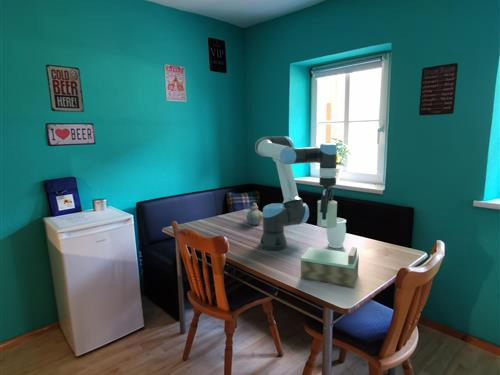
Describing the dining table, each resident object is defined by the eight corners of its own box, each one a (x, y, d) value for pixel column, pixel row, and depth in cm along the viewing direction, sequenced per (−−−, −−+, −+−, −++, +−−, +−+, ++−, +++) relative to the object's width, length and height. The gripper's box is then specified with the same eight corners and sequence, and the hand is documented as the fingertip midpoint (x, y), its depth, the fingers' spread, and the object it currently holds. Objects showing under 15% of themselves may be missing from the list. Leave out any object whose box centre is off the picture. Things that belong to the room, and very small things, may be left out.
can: (314, 222, 156) (315, 199, 154) (333, 222, 156) (333, 198, 154) (320, 228, 147) (320, 203, 144) (339, 227, 147) (340, 202, 145)
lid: (300, 260, 136) (301, 250, 135) (309, 249, 148) (309, 239, 147) (354, 269, 126) (354, 258, 125) (358, 256, 139) (359, 246, 138)
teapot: (263, 228, 210) (263, 206, 208) (246, 228, 210) (245, 206, 208) (262, 219, 231) (262, 199, 229) (247, 219, 231) (246, 199, 229)
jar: (346, 249, 169) (347, 222, 166) (326, 248, 171) (327, 222, 169) (344, 243, 179) (345, 217, 177) (325, 242, 181) (326, 216, 179)
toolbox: (300, 278, 137) (300, 261, 136) (309, 266, 150) (309, 250, 148) (353, 288, 128) (354, 269, 126) (358, 274, 140) (358, 257, 139)
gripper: (330, 180, 136) (329, 230, 140) (340, 174, 155) (339, 218, 159) (313, 179, 140) (312, 228, 143) (325, 173, 159) (324, 216, 162)
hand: (326, 223), depth 151 cm, fingers closed on can, 9 cm apart
